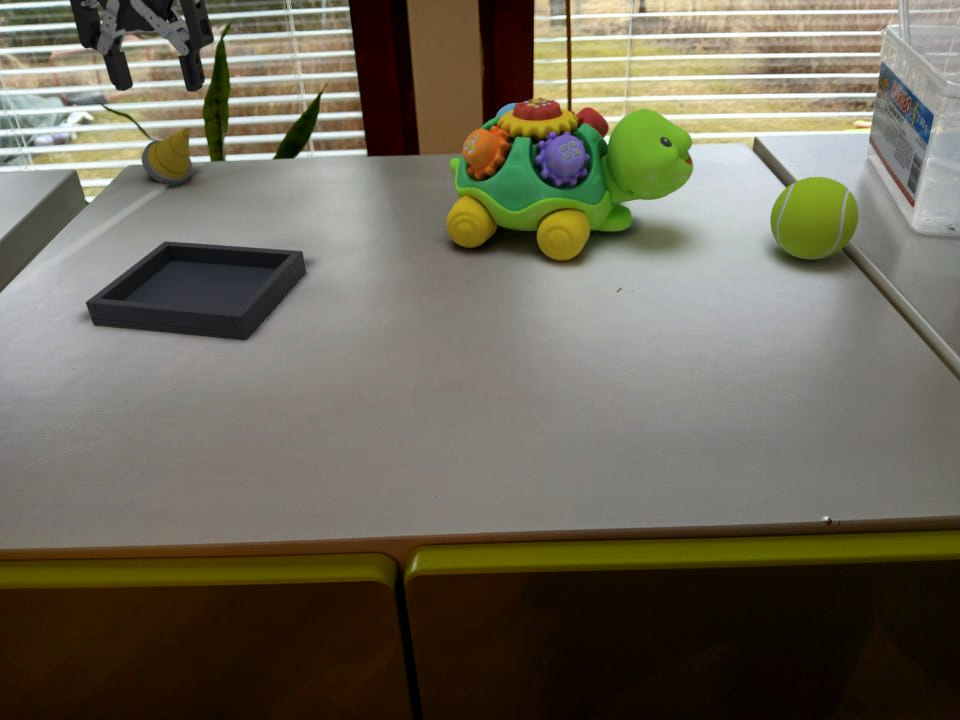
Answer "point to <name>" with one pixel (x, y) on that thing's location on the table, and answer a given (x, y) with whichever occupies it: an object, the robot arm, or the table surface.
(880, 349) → the table surface
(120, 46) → the robot arm
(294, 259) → the black tray
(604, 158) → the turtle toy
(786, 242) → the tennis ball
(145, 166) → the yellow spinning top
